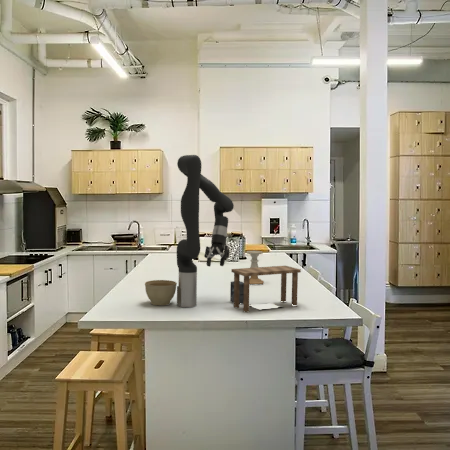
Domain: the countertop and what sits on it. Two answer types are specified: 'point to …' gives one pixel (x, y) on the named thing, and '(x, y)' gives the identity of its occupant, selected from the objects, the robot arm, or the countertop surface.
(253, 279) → the candle holder
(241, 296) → the box
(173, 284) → the planter bowl
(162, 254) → the countertop surface
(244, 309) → the low shelf
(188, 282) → the robot arm
